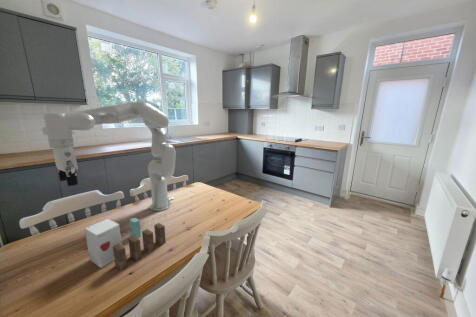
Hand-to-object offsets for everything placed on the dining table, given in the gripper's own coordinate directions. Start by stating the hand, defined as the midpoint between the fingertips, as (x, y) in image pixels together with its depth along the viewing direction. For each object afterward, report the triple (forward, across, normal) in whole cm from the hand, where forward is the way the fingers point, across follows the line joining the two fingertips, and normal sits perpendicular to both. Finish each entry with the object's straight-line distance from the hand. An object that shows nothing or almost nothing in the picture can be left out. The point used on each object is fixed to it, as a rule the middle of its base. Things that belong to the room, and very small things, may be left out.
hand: (68, 182), depth 82 cm
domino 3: (+30, -30, -10) cm, 43 cm away
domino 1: (+30, -30, -4) cm, 43 cm away
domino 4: (+30, -30, -16) cm, 45 cm away
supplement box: (+30, -20, -3) cm, 36 cm away
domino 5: (+30, -30, -22) cm, 48 cm away
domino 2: (+30, -16, -18) cm, 38 cm away
